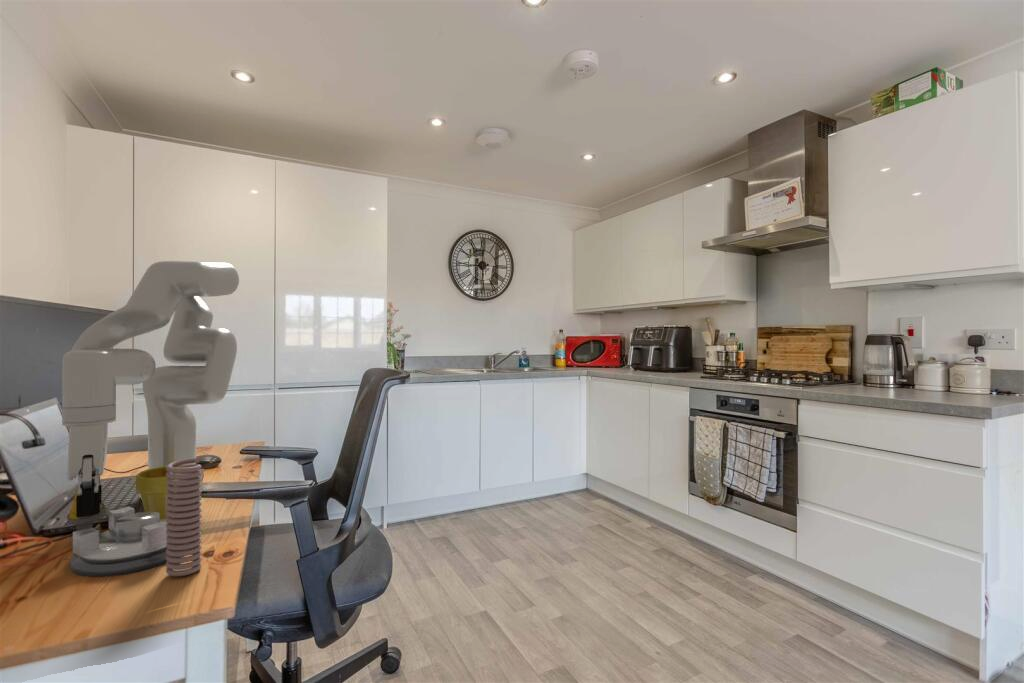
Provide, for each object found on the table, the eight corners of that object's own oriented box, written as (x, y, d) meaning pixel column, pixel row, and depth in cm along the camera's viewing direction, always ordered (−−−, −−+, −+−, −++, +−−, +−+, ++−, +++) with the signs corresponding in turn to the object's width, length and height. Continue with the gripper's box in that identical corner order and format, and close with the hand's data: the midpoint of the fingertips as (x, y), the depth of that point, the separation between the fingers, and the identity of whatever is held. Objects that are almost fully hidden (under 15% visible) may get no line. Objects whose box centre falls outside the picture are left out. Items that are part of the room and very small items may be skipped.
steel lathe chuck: (54, 568, 72) (54, 539, 72) (113, 529, 87) (113, 506, 87) (166, 557, 75) (166, 530, 75) (204, 522, 90) (204, 499, 90)
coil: (187, 580, 72) (188, 464, 72) (158, 580, 72) (158, 464, 72) (208, 565, 76) (208, 457, 76) (180, 565, 76) (180, 457, 76)
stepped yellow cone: (116, 520, 90) (106, 475, 88) (89, 539, 85) (77, 491, 82) (91, 518, 91) (80, 473, 88) (63, 536, 85) (50, 488, 83)
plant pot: (201, 516, 98) (201, 470, 98) (138, 530, 91) (138, 480, 91) (191, 504, 105) (191, 461, 105) (132, 516, 98) (133, 470, 98)
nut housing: (75, 550, 82) (75, 540, 82) (192, 525, 93) (192, 517, 93) (64, 589, 69) (64, 578, 69) (202, 555, 80) (202, 545, 80)
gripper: (67, 412, 92) (66, 503, 91) (56, 423, 78) (56, 530, 78) (116, 408, 96) (116, 495, 96) (114, 418, 83) (114, 519, 83)
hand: (89, 510), depth 87 cm, fingers closed on stepped yellow cone, 5 cm apart
